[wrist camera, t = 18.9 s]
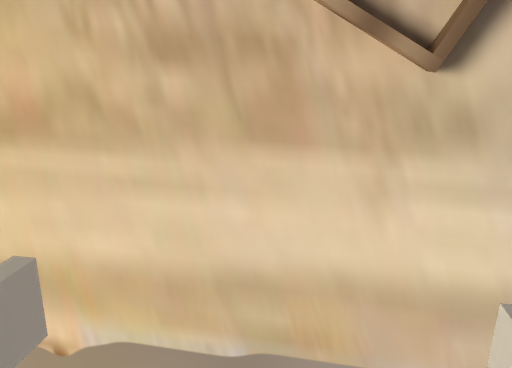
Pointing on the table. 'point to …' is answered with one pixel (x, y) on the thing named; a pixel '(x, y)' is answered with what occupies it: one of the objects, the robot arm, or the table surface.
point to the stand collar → (403, 45)
